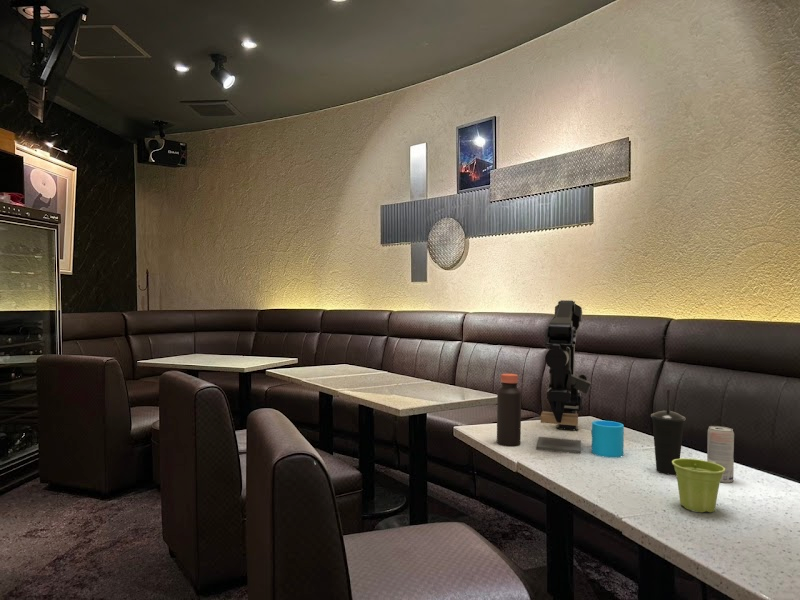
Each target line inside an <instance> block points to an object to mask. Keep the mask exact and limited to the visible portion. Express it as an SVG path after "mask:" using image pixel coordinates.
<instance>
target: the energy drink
mask: <svg viewBox="0 0 800 600" xmlns="http://www.w3.org/2000/svg"><path fill="white" fill-rule="evenodd" d="M733 430H734V429H733V428H730V427H726V426H720V425H710V426H708V429H707V449H706V451H707V454H706V455H707V457H706V458H707V459H706V461H708V462H712V463H716V464H719V465H721V466H723V467H724V468H725V472H723V474H722V478H721V479H720V483H722V484H725V483H726V484H728V483H732V482H733V481H734V468H735V465H734V464H735V461H734V460H735V454H734V452H735V450H734V449H735V432H734V431H733Z"/></svg>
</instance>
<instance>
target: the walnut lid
mask: <svg viewBox="0 0 800 600" xmlns="http://www.w3.org/2000/svg"><path fill="white" fill-rule="evenodd" d="M540 423H543V424H550V425H551V424H553V425H557V424H562V425H574V426H578V425H579V413H577V414H570V413H563V415H562V420H561V423H557V421H556V419H555V416H554V414H553V411H541V414H540ZM578 427H579V426H578Z"/></svg>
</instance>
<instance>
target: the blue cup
mask: <svg viewBox="0 0 800 600" xmlns="http://www.w3.org/2000/svg"><path fill="white" fill-rule="evenodd" d="M624 427H625V426H624V424H623V423H621V422H618V421H617V422H616V421H612V420H595V421H592V422H591V433H590V434H591V453H592V454H593V453H594V454H593V455H595V454H596V456H598V455H599V456H598V457H602V456H604V457H603V458H610V457H617V458H622V457H623V456H624V442H625V440H624V438H625V437H624V436H625V434H624V433H625V432H624V431H625V429H624ZM621 456H622V457H621Z"/></svg>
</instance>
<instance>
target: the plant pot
mask: <svg viewBox="0 0 800 600" xmlns="http://www.w3.org/2000/svg"><path fill="white" fill-rule="evenodd" d="M672 464H673V465H674V468H675V472H676V474H675V475H676V481H677V488H678V497H679V505H681V506H683V507H684V508H685V509H686V510H688V511H692V512H697V513H704V512H707V513H713V512H715V510H716V506H717V499H718V493H719V487H720V484H721V482H720V479H721V478H722V474H723V472H725V468H724V467H723V466H721V465H719V464H716V463H712V462H708V461H707V460H703V459H702V460H701V459H697V458H696V459H695V458H680V459H675V460H673V461H672Z"/></svg>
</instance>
